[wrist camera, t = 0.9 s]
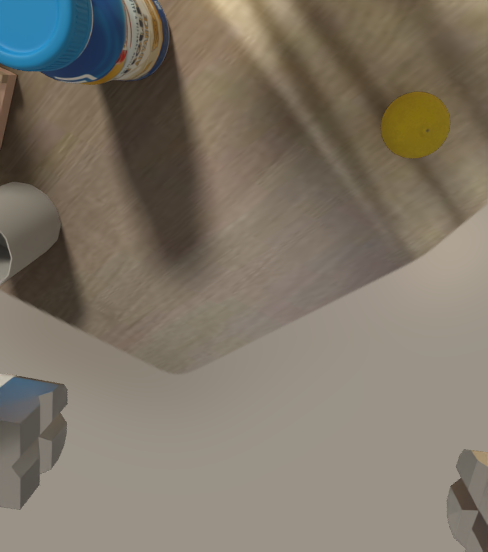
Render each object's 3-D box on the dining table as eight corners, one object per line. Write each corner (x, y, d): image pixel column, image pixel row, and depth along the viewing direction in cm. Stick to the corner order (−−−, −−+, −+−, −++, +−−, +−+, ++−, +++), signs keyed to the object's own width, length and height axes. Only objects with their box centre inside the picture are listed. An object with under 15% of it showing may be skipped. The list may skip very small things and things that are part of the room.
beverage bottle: (95, -36, 41) (-60, -127, 22) (184, 3, 41) (104, -55, 23) (75, 62, 44) (-74, 52, 26) (157, 96, 45) (70, 110, 26)
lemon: (402, 162, 45) (425, 179, 38) (361, 126, 44) (377, 136, 37) (446, 116, 43) (478, 124, 36) (403, 77, 42) (428, 77, 35)
